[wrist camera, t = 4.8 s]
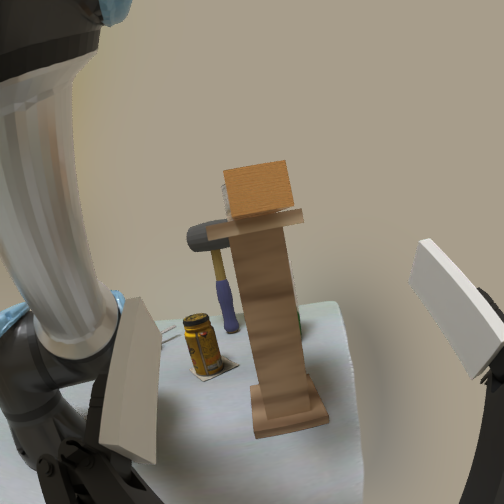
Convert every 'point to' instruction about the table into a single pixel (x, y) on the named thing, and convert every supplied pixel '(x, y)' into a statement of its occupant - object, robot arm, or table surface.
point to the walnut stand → (272, 324)
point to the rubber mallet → (216, 269)
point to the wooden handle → (256, 190)
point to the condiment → (204, 348)
